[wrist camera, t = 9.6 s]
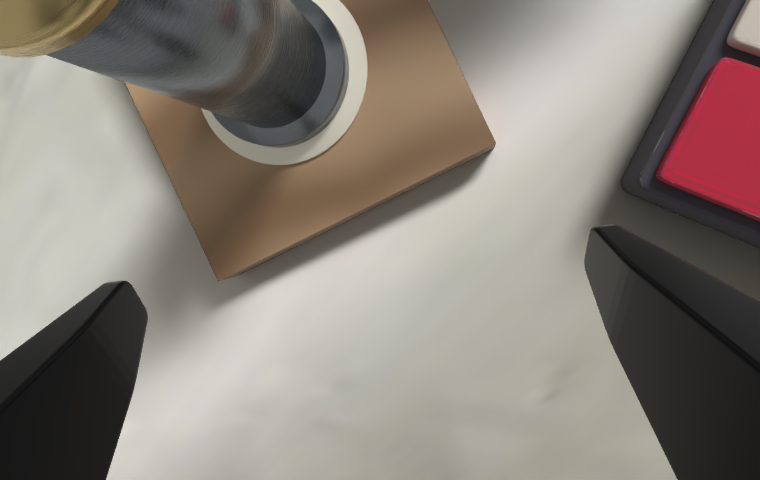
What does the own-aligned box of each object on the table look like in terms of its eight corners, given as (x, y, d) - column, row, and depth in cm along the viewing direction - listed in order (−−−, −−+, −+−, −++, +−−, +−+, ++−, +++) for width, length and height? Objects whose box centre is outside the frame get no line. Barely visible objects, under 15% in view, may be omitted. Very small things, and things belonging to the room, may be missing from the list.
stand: (493, 148, 22) (495, 142, 19) (238, 275, 25) (215, 282, 22) (360, -129, 22) (348, -166, 20) (123, 29, 25) (89, 12, 23)
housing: (340, 154, 21) (127, 80, 8) (205, 139, 22) (-166, 55, 9) (357, 1, 20) (155, -343, 7) (217, -6, 21) (-164, -314, 9)
